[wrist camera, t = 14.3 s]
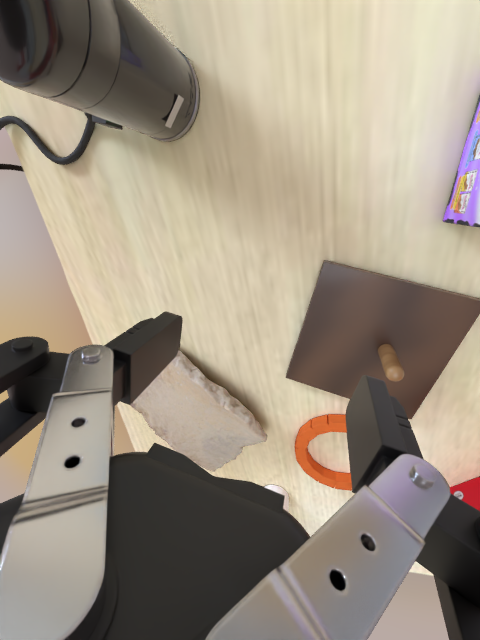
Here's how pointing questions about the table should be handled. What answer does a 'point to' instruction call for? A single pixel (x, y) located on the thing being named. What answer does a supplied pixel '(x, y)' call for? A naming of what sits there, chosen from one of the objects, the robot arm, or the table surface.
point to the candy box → (467, 181)
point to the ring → (306, 461)
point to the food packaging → (468, 492)
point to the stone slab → (197, 415)
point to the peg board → (379, 333)
